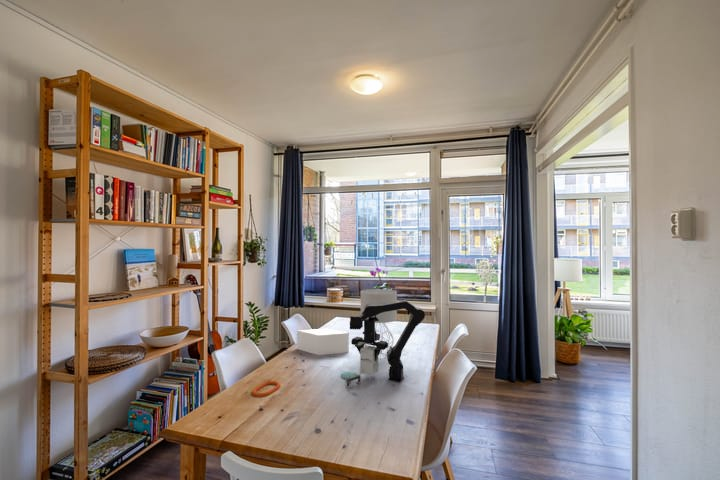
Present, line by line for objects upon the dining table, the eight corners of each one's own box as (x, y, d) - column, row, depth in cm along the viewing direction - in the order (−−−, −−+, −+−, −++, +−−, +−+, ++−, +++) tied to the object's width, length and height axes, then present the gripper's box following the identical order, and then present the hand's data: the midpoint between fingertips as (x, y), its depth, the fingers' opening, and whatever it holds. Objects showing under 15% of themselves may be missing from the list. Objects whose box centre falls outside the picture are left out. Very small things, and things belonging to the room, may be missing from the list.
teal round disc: (360, 374, 171) (360, 373, 171) (352, 380, 164) (352, 380, 164) (346, 371, 176) (346, 370, 176) (337, 377, 168) (337, 376, 168)
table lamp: (396, 350, 210) (396, 289, 211) (397, 363, 188) (397, 294, 189) (362, 349, 212) (362, 288, 213) (358, 361, 190) (358, 293, 191)
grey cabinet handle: (362, 382, 162) (362, 374, 162) (353, 389, 154) (353, 380, 154) (349, 379, 166) (349, 371, 166) (339, 385, 158) (339, 377, 158)
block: (345, 357, 199) (345, 336, 199) (291, 353, 205) (292, 334, 205) (351, 348, 216) (351, 329, 216) (301, 345, 222) (301, 327, 223)
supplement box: (359, 373, 165) (359, 348, 165) (366, 368, 171) (366, 344, 171) (372, 376, 161) (372, 351, 161) (378, 371, 168) (378, 346, 168)
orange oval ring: (284, 382, 159) (264, 395, 145) (284, 385, 159) (264, 399, 145) (268, 379, 163) (247, 391, 149) (268, 382, 163) (247, 395, 149)
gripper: (392, 328, 169) (392, 358, 169) (361, 323, 178) (361, 352, 178) (383, 333, 159) (383, 365, 159) (350, 328, 168) (350, 358, 168)
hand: (369, 359), depth 166 cm, fingers closed on supplement box, 7 cm apart
